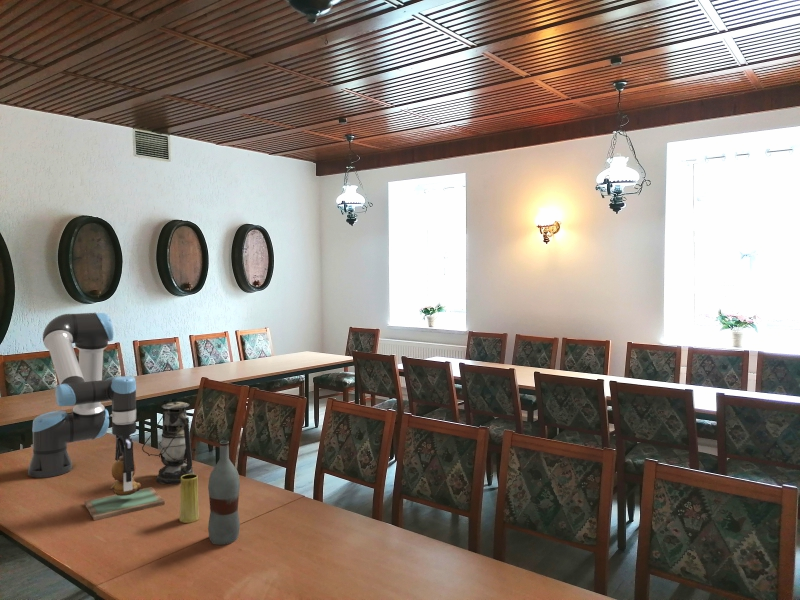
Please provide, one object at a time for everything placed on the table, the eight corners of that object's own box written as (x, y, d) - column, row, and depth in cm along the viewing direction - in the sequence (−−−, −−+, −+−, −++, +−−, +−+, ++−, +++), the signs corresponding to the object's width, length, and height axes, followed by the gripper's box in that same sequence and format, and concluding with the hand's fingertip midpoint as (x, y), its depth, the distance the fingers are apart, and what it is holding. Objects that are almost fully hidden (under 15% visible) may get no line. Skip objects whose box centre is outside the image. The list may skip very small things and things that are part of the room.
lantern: (207, 477, 226) (206, 402, 224) (164, 492, 210) (164, 411, 208) (176, 467, 236) (176, 396, 234) (134, 481, 220) (133, 404, 218)
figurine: (146, 488, 203) (140, 451, 198) (134, 501, 195) (128, 462, 191) (119, 486, 204) (113, 449, 200) (107, 499, 196) (100, 461, 192)
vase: (203, 517, 189) (203, 475, 188) (189, 524, 184) (189, 481, 183) (189, 513, 192) (189, 472, 191) (175, 520, 186) (175, 477, 185)
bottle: (210, 548, 168) (210, 448, 167) (205, 535, 176) (205, 439, 175) (242, 541, 173) (243, 444, 171) (236, 529, 181) (236, 436, 179)
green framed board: (84, 504, 198) (84, 500, 198) (151, 490, 212) (151, 486, 212) (94, 520, 185) (94, 516, 185) (164, 504, 199) (164, 500, 199)
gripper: (105, 417, 203) (106, 479, 204) (119, 430, 186) (120, 498, 187) (128, 414, 208) (128, 474, 209) (144, 427, 191) (144, 493, 192)
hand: (124, 486), depth 198 cm, fingers closed on figurine, 9 cm apart
